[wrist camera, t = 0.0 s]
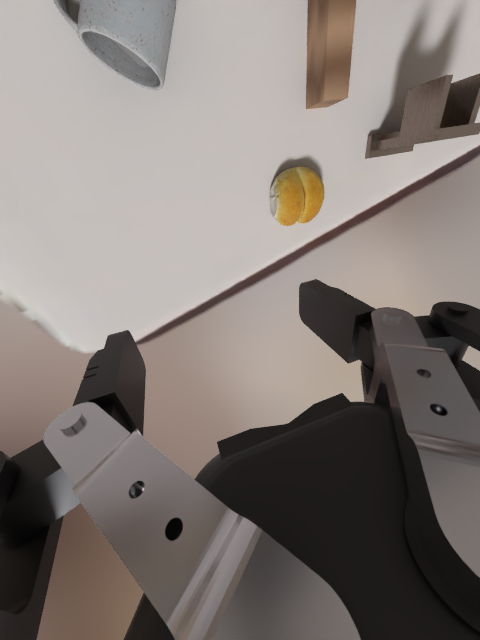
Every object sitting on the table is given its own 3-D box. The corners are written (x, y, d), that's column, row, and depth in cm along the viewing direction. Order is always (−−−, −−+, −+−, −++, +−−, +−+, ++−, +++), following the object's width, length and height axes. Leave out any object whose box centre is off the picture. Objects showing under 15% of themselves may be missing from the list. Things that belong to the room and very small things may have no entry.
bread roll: (315, 219, 42) (329, 222, 38) (269, 227, 40) (279, 230, 36) (319, 164, 37) (335, 162, 34) (268, 169, 35) (279, 168, 32)
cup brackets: (400, -119, 25) (537, -288, 16) (462, -112, 27) (617, -261, 18) (365, 158, 39) (429, 150, 30) (408, 151, 41) (481, 141, 32)
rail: (308, -124, 24) (337, -183, 20) (338, -121, 24) (371, -177, 21) (305, 109, 33) (324, 99, 29) (326, 107, 34) (347, 97, 30)
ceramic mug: (177, 5, 25) (184, -59, 18) (162, 99, 28) (163, 72, 21) (56, -80, 20) (9, -202, 14) (54, 43, 24) (15, -12, 17)
